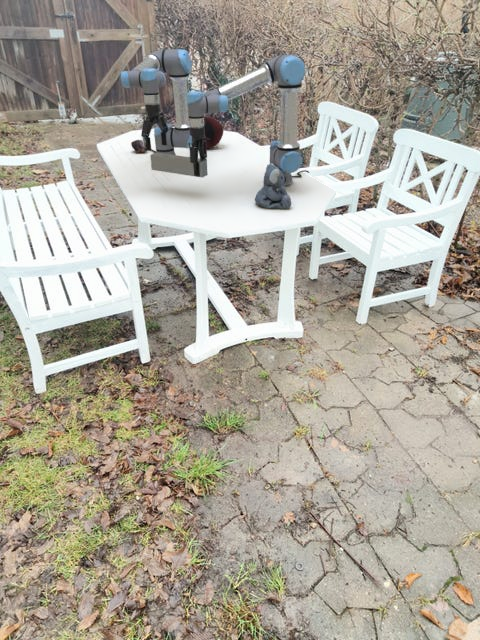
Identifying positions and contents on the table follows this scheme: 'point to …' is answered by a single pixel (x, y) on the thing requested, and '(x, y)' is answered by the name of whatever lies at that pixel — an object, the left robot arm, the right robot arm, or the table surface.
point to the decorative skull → (212, 131)
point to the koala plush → (273, 190)
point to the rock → (138, 146)
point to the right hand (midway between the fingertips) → (199, 174)
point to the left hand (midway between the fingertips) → (156, 147)
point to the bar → (177, 164)
